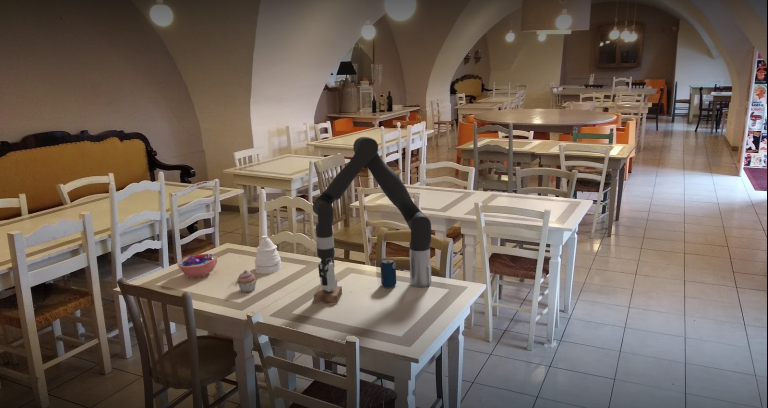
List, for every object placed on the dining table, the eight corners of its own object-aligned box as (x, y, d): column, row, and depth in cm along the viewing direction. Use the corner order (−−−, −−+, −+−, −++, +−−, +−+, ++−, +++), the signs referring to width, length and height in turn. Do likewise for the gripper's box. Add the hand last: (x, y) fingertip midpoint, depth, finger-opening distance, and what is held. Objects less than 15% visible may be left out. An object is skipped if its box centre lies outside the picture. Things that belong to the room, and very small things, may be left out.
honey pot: (278, 273, 275) (275, 238, 271) (252, 274, 275) (249, 239, 271) (283, 264, 288) (280, 230, 283) (258, 265, 288) (255, 231, 283)
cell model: (226, 271, 280) (224, 250, 277) (194, 285, 264) (191, 262, 261) (204, 266, 289) (201, 245, 286) (171, 279, 273) (168, 257, 270)
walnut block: (342, 294, 248) (341, 286, 247) (337, 304, 238) (336, 295, 237) (320, 294, 249) (319, 285, 248) (314, 303, 240) (313, 295, 239)
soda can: (399, 284, 255) (398, 260, 252) (389, 289, 251) (388, 264, 248) (388, 281, 260) (387, 257, 257) (378, 285, 255) (377, 261, 252)
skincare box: (336, 289, 242) (334, 263, 239) (327, 292, 239) (326, 265, 236) (328, 285, 246) (326, 259, 243) (319, 288, 244) (318, 262, 241)
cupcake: (233, 291, 255) (231, 270, 253) (250, 284, 262) (248, 264, 259) (244, 296, 249) (242, 275, 247) (262, 289, 256) (260, 269, 253)
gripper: (328, 251, 230) (330, 289, 234) (338, 240, 244) (341, 276, 248) (311, 250, 232) (313, 288, 236) (322, 240, 245) (325, 275, 249)
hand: (327, 281), depth 242 cm, fingers closed on skincare box, 7 cm apart
